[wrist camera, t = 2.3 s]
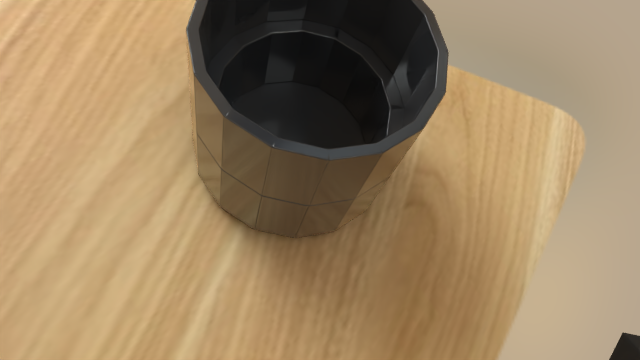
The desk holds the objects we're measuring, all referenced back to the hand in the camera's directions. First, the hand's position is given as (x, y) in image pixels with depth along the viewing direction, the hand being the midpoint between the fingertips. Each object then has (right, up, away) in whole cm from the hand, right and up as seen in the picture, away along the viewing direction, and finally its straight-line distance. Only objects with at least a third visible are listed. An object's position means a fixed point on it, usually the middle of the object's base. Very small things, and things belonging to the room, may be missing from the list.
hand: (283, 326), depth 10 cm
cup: (-1, +5, +21) cm, 22 cm away
